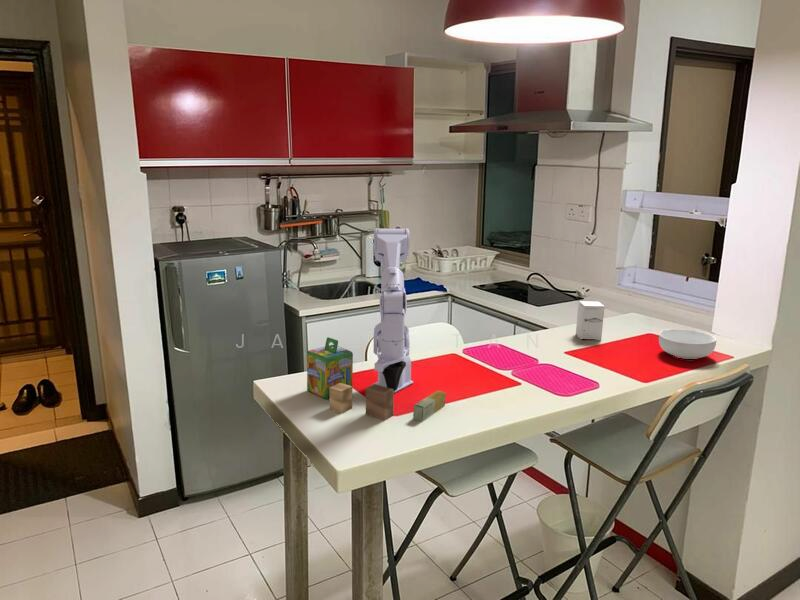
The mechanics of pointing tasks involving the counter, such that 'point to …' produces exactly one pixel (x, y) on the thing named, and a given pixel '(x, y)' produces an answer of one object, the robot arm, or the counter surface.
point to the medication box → (429, 405)
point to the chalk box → (328, 368)
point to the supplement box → (590, 320)
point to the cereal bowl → (687, 343)
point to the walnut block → (379, 401)
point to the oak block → (340, 398)
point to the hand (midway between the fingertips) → (392, 389)
